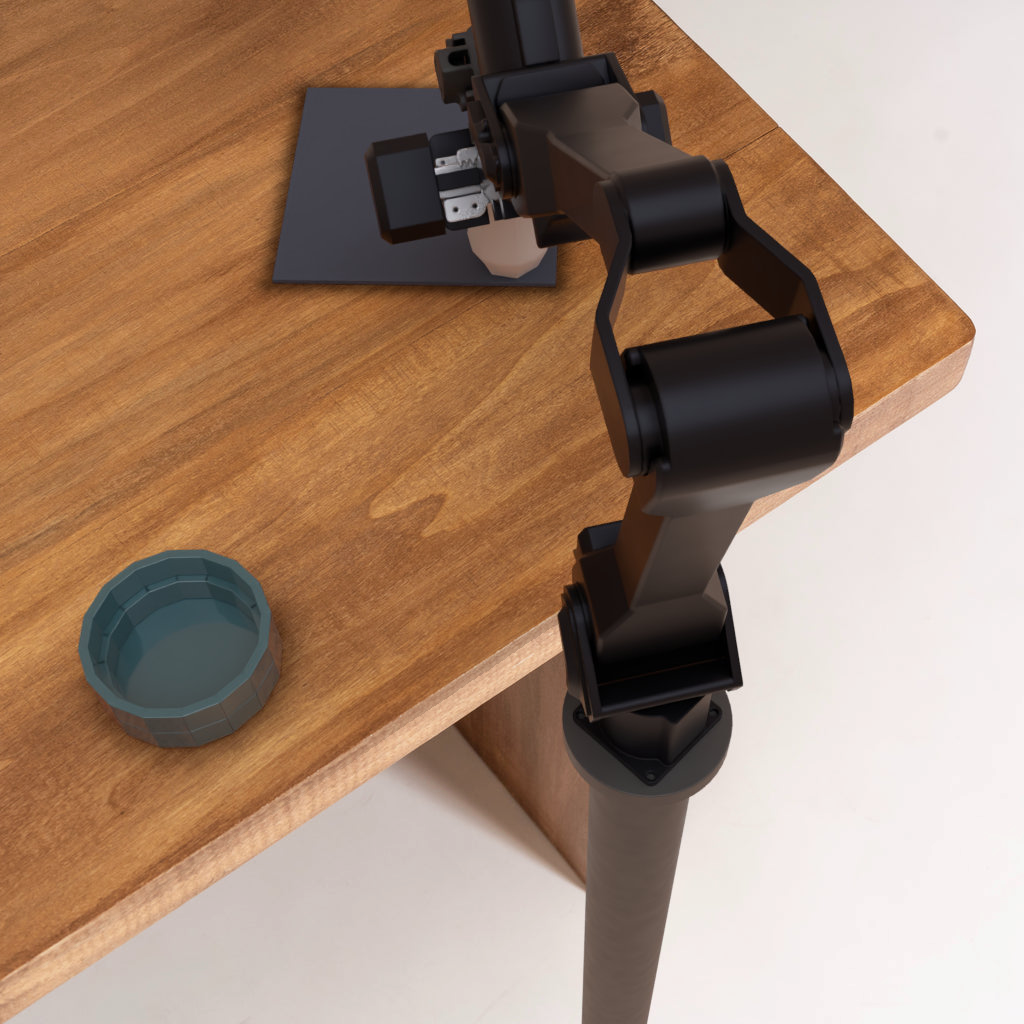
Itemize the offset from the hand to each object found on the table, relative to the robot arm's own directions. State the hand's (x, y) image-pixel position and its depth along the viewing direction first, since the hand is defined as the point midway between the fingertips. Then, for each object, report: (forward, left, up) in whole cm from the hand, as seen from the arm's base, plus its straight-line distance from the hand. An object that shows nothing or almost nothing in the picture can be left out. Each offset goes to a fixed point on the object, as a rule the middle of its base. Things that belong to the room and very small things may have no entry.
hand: (503, 174), depth 97 cm
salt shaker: (-1, +1, -7) cm, 7 cm away
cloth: (+9, 0, -7) cm, 11 cm away
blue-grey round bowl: (-10, +37, -7) cm, 39 cm away
